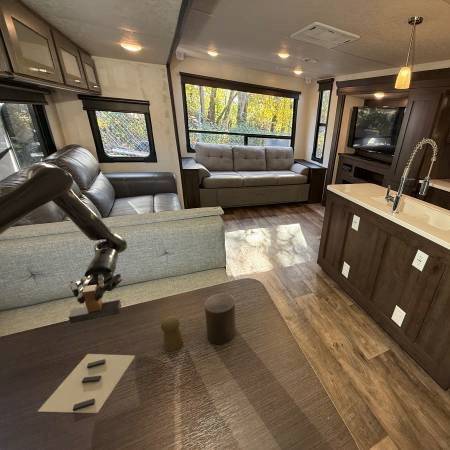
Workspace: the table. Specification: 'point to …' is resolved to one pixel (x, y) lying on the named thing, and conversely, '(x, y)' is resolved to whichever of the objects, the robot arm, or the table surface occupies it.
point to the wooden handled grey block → (93, 307)
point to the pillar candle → (220, 318)
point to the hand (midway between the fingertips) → (89, 299)
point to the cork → (171, 334)
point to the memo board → (88, 384)
